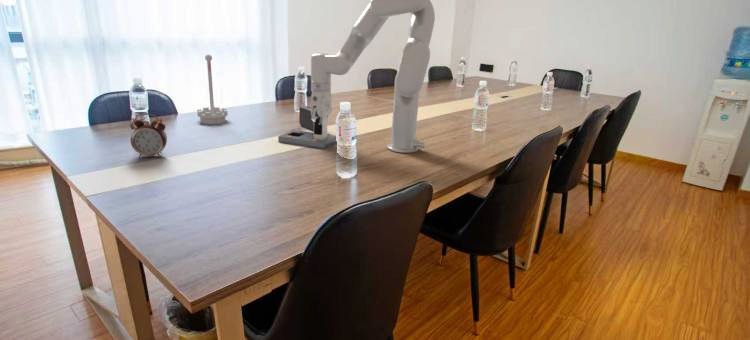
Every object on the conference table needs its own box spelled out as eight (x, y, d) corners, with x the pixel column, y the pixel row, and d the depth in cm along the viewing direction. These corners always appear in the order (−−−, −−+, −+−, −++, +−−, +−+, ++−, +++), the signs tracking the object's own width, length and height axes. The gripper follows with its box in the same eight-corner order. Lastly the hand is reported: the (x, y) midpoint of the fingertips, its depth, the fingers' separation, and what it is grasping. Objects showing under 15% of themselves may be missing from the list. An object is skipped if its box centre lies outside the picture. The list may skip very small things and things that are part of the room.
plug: (327, 139, 173) (327, 112, 170) (322, 141, 170) (323, 113, 166) (316, 137, 175) (316, 110, 171) (311, 140, 171) (311, 112, 167)
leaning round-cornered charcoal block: (326, 132, 190) (326, 111, 187) (317, 133, 188) (317, 112, 184) (307, 124, 202) (307, 104, 199) (298, 125, 199) (298, 105, 196)
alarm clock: (132, 159, 144) (125, 115, 139) (135, 154, 148) (129, 112, 143) (167, 158, 147) (162, 115, 142) (170, 153, 151) (165, 111, 146)
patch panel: (336, 141, 177) (336, 135, 176) (324, 149, 166) (324, 142, 165) (293, 135, 183) (293, 129, 182) (278, 142, 172) (278, 135, 171)
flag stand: (196, 118, 202) (191, 52, 192) (226, 117, 207) (222, 53, 197) (199, 125, 191) (193, 55, 181) (229, 123, 196) (225, 56, 186)
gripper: (320, 90, 156) (319, 139, 163) (338, 85, 171) (337, 129, 178) (301, 88, 159) (302, 136, 165) (321, 83, 174) (321, 127, 180)
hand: (320, 132), depth 171 cm, fingers closed on plug, 3 cm apart
